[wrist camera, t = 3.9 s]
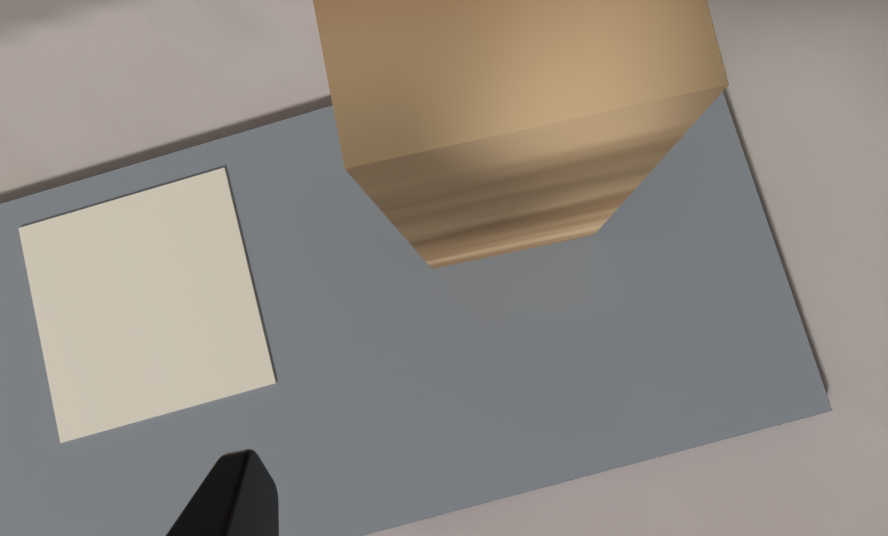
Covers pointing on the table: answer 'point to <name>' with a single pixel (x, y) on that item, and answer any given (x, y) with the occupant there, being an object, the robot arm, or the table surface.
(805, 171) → the table surface
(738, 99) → the table surface
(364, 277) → the rubber mat
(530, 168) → the wooden block
